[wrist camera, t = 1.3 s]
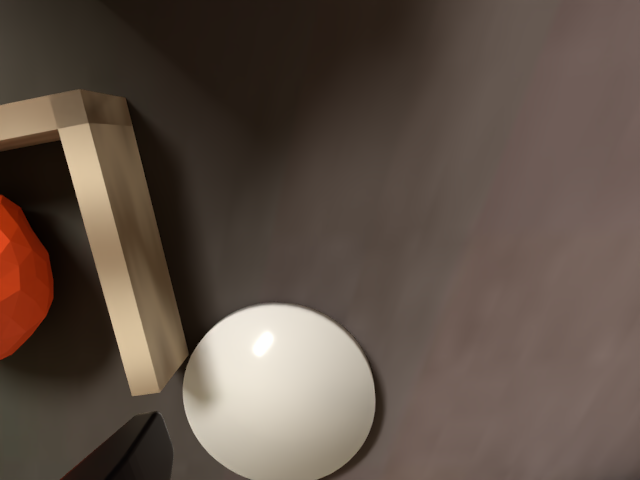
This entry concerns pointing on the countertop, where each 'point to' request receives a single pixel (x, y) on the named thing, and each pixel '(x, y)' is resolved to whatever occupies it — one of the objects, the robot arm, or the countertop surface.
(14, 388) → the countertop surface
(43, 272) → the pumpkin
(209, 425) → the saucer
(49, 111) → the wooden frame
